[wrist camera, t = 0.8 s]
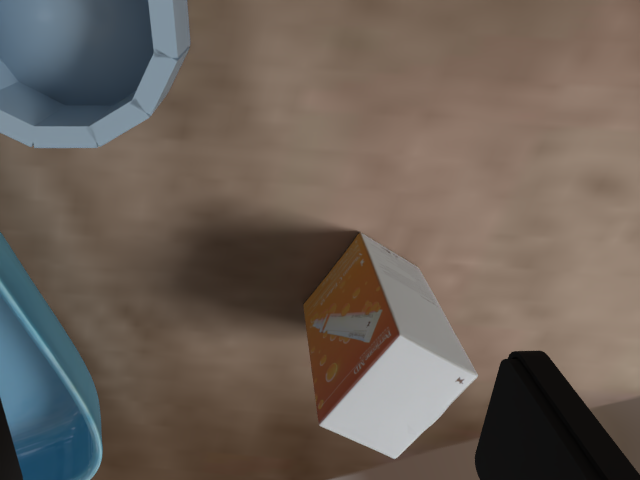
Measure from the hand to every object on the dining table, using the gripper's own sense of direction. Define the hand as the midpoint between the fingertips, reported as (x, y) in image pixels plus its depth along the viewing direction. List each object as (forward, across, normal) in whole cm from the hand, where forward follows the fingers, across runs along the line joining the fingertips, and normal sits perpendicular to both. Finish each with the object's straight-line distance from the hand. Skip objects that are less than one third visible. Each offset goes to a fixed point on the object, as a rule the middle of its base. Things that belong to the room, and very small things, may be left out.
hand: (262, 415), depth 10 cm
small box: (+28, -8, +14) cm, 33 cm away
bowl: (+28, +11, -5) cm, 30 cm away
